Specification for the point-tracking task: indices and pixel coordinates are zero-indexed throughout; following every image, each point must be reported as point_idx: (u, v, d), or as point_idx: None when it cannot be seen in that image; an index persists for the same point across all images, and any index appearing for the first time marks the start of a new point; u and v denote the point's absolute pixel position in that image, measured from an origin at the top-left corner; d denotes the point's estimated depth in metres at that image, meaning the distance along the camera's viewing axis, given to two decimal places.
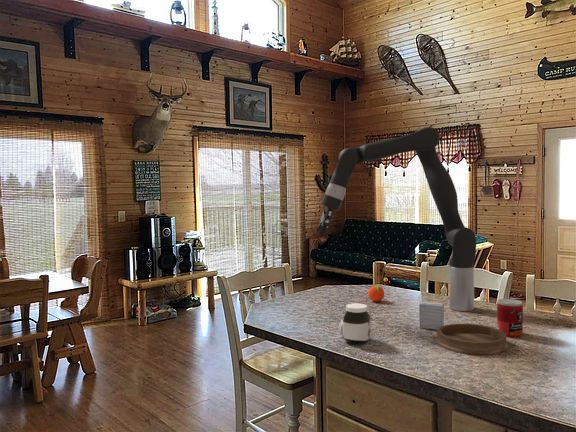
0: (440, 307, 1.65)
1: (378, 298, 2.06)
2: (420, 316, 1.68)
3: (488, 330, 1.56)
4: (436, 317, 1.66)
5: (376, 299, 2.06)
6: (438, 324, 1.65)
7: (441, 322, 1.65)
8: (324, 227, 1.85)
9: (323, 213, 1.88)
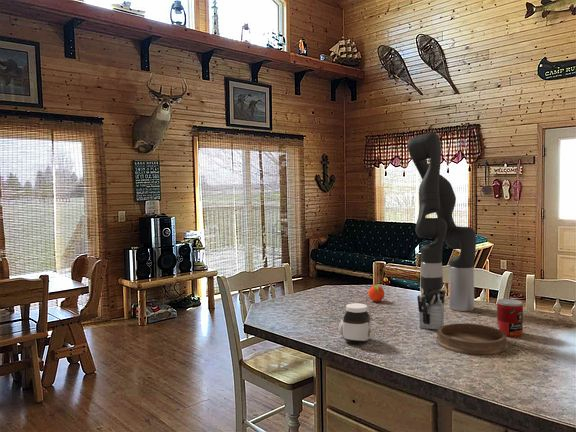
0: (440, 307, 1.65)
1: (378, 298, 2.06)
2: (420, 316, 1.68)
3: (488, 330, 1.56)
4: (436, 317, 1.66)
5: (376, 299, 2.06)
6: (438, 324, 1.65)
7: (441, 322, 1.65)
8: None
9: (439, 296, 1.68)
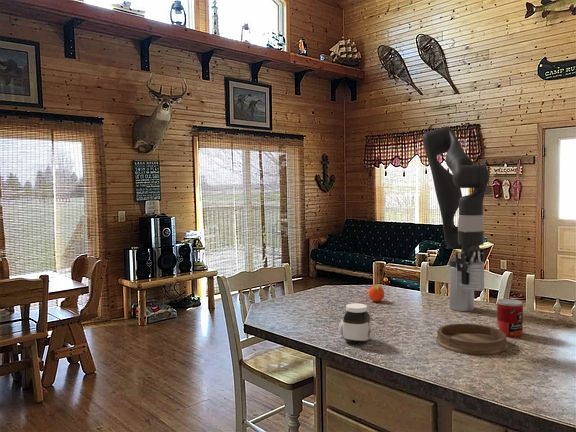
0: (480, 265, 1.46)
1: (378, 298, 2.06)
2: (457, 276, 1.50)
3: (488, 330, 1.56)
4: (476, 277, 1.47)
5: (376, 299, 2.06)
6: (478, 284, 1.47)
7: (482, 282, 1.47)
8: None
9: (479, 254, 1.50)
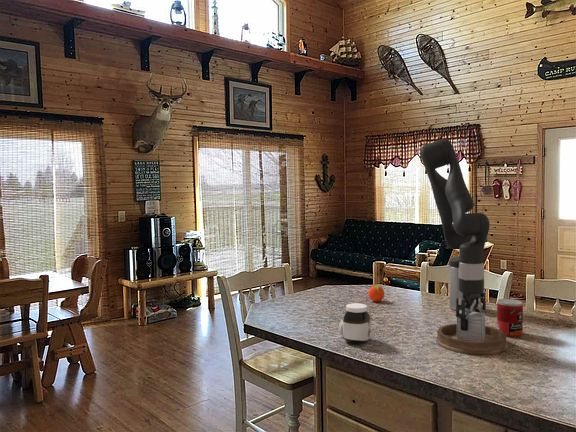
0: (480, 317, 1.47)
1: (378, 298, 2.06)
2: (457, 326, 1.51)
3: (488, 330, 1.56)
4: (476, 329, 1.48)
5: (376, 299, 2.06)
6: (478, 336, 1.48)
7: (481, 334, 1.48)
8: None
9: (480, 300, 1.50)
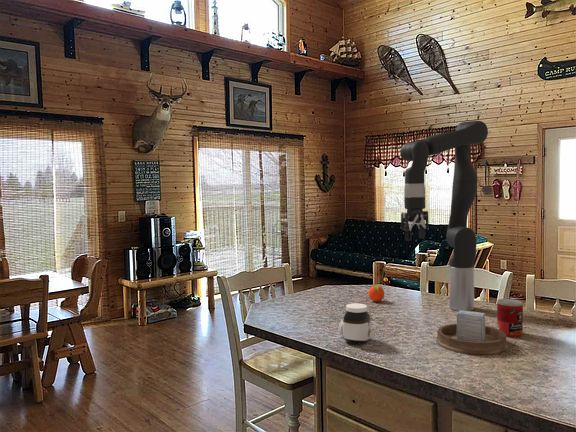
0: (480, 317, 1.47)
1: (378, 298, 2.06)
2: (457, 326, 1.51)
3: (488, 330, 1.56)
4: (476, 329, 1.48)
5: (376, 299, 2.06)
6: (478, 336, 1.48)
7: (481, 334, 1.48)
8: None
9: (422, 216, 1.77)
